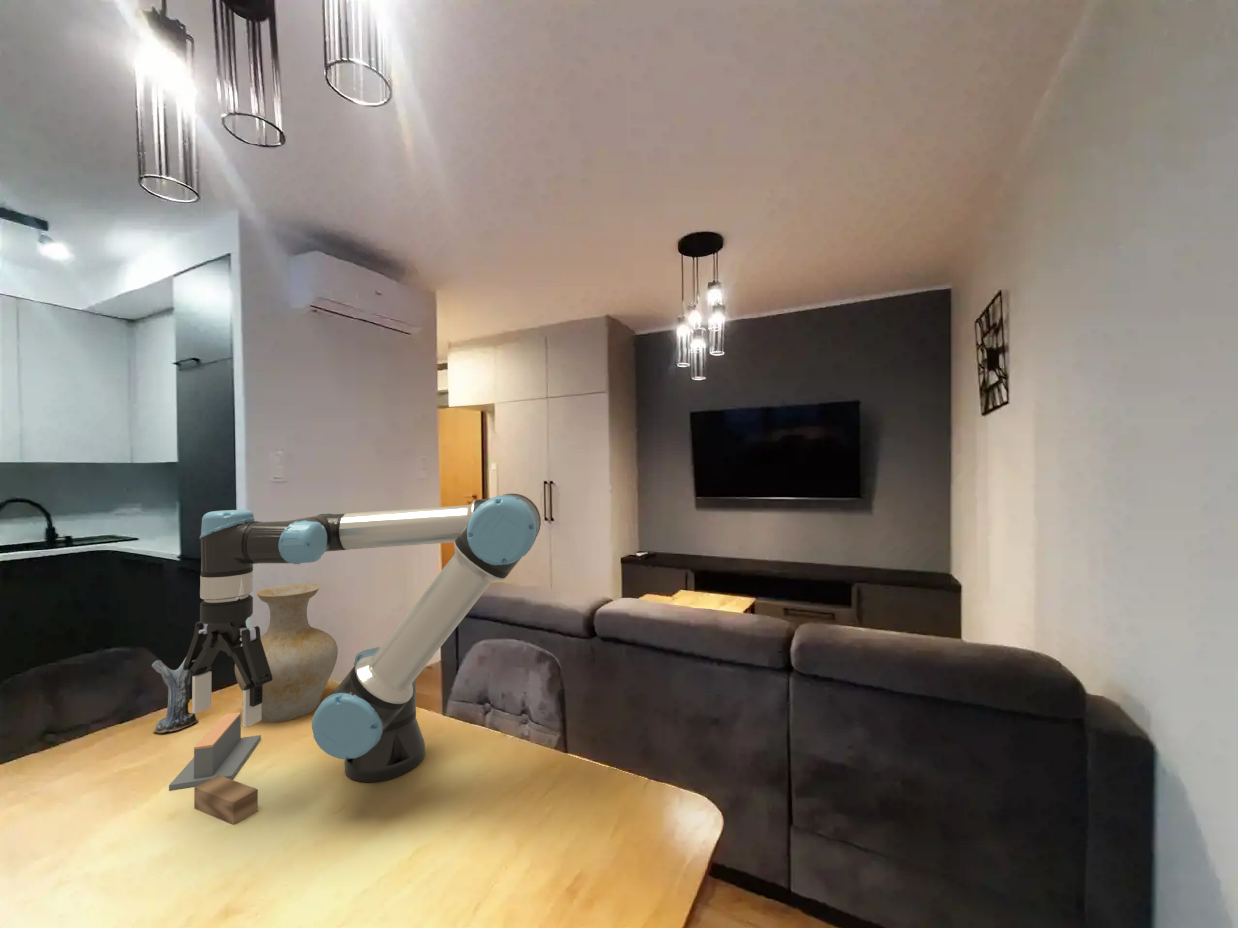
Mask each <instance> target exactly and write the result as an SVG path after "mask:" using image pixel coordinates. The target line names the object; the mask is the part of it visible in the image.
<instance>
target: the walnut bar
mask: <svg viewBox="0 0 1238 928" xmlns="http://www.w3.org/2000/svg"><path fill="white" fill-rule="evenodd" d="M193 788H194V797H193V799H194V804H193V806H194V809H195V810H197V811H199V812H202V813H203V814H207V815H209V816H211V817H213V818H216V819H217V820H220V821H222V822H225V823H228V824H231V825H233V826H234V825H236V824H238V823H240V822H241V821H243V820H244V819H247V818H248V817H249V816H251V815H253V814H255V813H257V812H258V811H259V810H258V809H259V807H258V805H259V792H258V791H259V790H258V788H255V787H253V786H250V785H247V784H245V783H241V782H239V781H236V780H231V779H228V778H226V777H223V776H220V775H218V776H216V777H214V778H212V779H210V780H208V781H206V782H204V783H202V784H200V785H198V786H195V787H193Z"/></svg>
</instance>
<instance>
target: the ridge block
mask: <svg viewBox="0 0 1238 928" xmlns="http://www.w3.org/2000/svg"><path fill="white" fill-rule="evenodd" d="M241 716H242V712H232V713H225V714H224V715H222V717H221V718H219V719H218V720H217V722H216V723H215V724H214V725H213V726H212V727H211V728H210V730H209V731H207V733H206V734H205V735H204V736H203V737H202V738H201V740H199V741H198V742H197V743H196V745H195V746H194V747H193V749H194V750H193V755H194V756H193V757H192V759H191V760H190V761H189V762H188V763H187V764H186V766H185V767H184V768H183V769H182V770H181V771H180V772H179V773H178V775H176V777H174V779H173V780H172V781H170V783H169V784H168V791H174V790H182V789H187V788H194V787H196V786H198V785H200V784H202V783H204V782H206V781H208V780H210V779H212V778H214V777H216V776H218V775H220V776H223V777H226V778H228V779H231V780H233V779H234V778H235V777H236V775H237V774H238V772H240V770H241V768H242V767H243V766H244V764H245V762H246V761H247V760H248V758H249V757H250V755H252V753H253V751H254V750H255V749H256V747H257V745H258V744H259V743H260V741H261V739H262V735H261V734H258V735H252V736H243V737H242V735H241V731H242V728H241V727H242V724H241V723H242V717H241Z"/></svg>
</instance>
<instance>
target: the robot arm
mask: <svg viewBox="0 0 1238 928" xmlns="http://www.w3.org/2000/svg"><path fill="white" fill-rule="evenodd" d="M541 518H542V517H541V513H540V511H539V509H538V507H537V506H536V504H535V503H534V501H532V499H530V498H528V497H527V496H524V495H522V494H520V493H505V494H502V495H497V496H493V497H490V498H482V499H474V500H473V501H471V503H470V504H466V505H465V504H464V505H463V504H462V505H451V506H450V505H449V506H438V507H437V506H436V507H435V506H433V507H421V508H404V509H391V510H389V509H388V510H378V511H377V510H376V511H375V510H374V511H360V512H348V513H347V512H346V513H320V514H317V515H313V516H310V517H302V518H296V519H291V520H285V521H283V520H281V521H258V520H255V517H254V512H253V511H251V510H249V509H246V510H244V509H231V510H230V509H229V510H227V509H226V510H214V511H209V512H208V511H207V512H206V513H204V514H203V516H202V518H201V529H200V536H199V540H200V563H201V564H200V576H199V577H200V578H199V580H200V581H199V582H200V587H199V597H200V599H202V601H201V602H200V603H199V614H200V615H199V621H197V622H194V623H195V624H194V632H193V636H192V639H191V642H190V645H189V648H188V651H187V654H186V656H185V658H186V659H185V658H184V660H185V662H184V665H183V669H184V670H185V671H186V670H189V673H190V675H191V691H192V692H191V693H192V694H191V695H192V697H191V699H192V700H191V701H192V703H191V706H192V707H191V714H193V713H194V714H195V715H196V714H198V713H200V712H203V711H205V710H208V709H210V708H212V673H213V672H212V671H210V670H213V668H212V664H213V662H214V660H216V659H215V658H217V655H218V654H219V653H220V651H221V652H223V653H226V655H227V656H228V657H231V658H232V660H233V661H234V663H235V664H236V666H237V668H238V670H239V672H240V674H241V676H242V678H243V680H244V682H245V684H246V686H245V687H244V688H243V692H242V727H244V728H247V727H249V726H250V727H251V726H252V725H254V724H256V723H258V722H262V721H261V709H262V697H263V684H265V683H267V682H270V681H272V679H273V677H272V674H271V671H270V667H269V664H268V661H267V658H266V655H265V652H264V648H263V645H262V642H261V638H260V636H261V629H260V626H259V625H256V626H252V627H247V620H248V618H251V617H252V616H253V613H254V596H252V595H251V593H252V592H253V589H254V588H253V586H254V585H253V583H254V581H253V580H254V579H253V578H254V575H253V574H254V573H253V571H254V564H255V565H257V564H293V565H300V564H306V563H307V564H309V563H311V564H312V563H315V562H317V561H319V560H320V559H321V558H322V556H323V555H324V554H325V553H326V552H339V551H341V552H342V551H348V550H359V549H375V548H377V549H379V548H390V547H391V548H392V547H405V546H419V545H434V544H450V543H453V546H454V554H453V555H452V557H451V558H450V560H449V561H448V562H447V563H446V564H445V566H443V568H442V569H441V571H440V572H439V573H438V575H436V577H435V578H434V580H433V581H431V583H430V585H429V586H428V587H427V588H426V590H425V591H424V592H423V593H422V594H421V596H420V597H419V598H418V599H417V601H416V602H415V603H414V605H412V607H411V608H410V609H409V611H408V612H407V614H405V616H404V617H403V618H402V619H401V620H400V621H399V623H398V625H396V627H395V628H394V630H393V631H391V633H390V634H389V636H388V637H387V638H386V640H384V642H383V643H382V645H381V646H380V647H379V646H378V647H377V646H376V647H373V648H368V649H365V650H362V651H360V652H358V653H356V655H355V657H354V663H353V667H352V668H351V670H350V671H348V673H347V675H345V677H344V679H342V681H340V683H339V684H338V686H337V687H336V688H335V689H334V691H332V693H331V694H330V695H328V696H327V697H325V698H324V699H323V700H322V701H320V704H319V706H318V707H317V708H316V709H315V711H314V713H313V716H312V721H311V730H312V733H313V734H312V737H313V739H314V741H315V743H316V745H317V746H318V747H319V748H320V749H321V750H322V751H323V752H324V753H325V754H327V755H329V756H331V757H332V758H336V759H340V760H344V773H345V775H346V776H347V777H348V778H350V779H351V780H353V781H356V782H360V783H375V782H376V783H377V782H383V781H387V780H391V779H394V778H397V777H400V776H402V775H405V774H407V773H408V772H410V771H411V770H414V768H416V767H417V766H419V764H420V763H421V762H422V761H423V759H424V758H425V754H426V753H425V752H426V751H425V750H426V749H425V746H426V745H425V740H424V739H425V738H424V737H423V734H422V731H421V728H420V725H419V723H418V719H417V678H418V676H419V675H420V674H421V673H422V671H423V670H424V669H425V667H426V666H427V665H428V663H429V662H430V661H431V660H432V659H433V657H434V656H435V654H437V652H438V651H439V650H440V648H441V647H442V646H443V644H444V643H445V642H446V641H447V640H448V638H449V637H450V636H451V635H452V633H454V631H455V629H456V628H457V627H458V626H459V625H460V623H461V622H462V621H463V619H464V618H465V617H466V616H467V614H468V613H469V612H470V611H471V609H472V608H473V607H474V605H475V604H476V603H477V601H478V600H479V599H480V597H482V595H484V593H485V592H486V590H487V589H488V588H489V586H490V585H491V584H492V583H493V582H497V581H504V580H505V579H506V578H507V577H508V576H509V575H510V573H511V572H512V570H513V569H514V568H515V566H516V565H517V564H518V563H519V562H520V560H521V559H522V558H523V557H525V556H526V555H527V554H528V553H529V552H530V551H531V550H532V549H531V548H532V547H533V546H534V544H535V543H536V540H537V537H538V536H539V533H540V530H541V525H542V522H541V521H542V519H541ZM193 660H196V661H193ZM192 661H193V662H192ZM235 664H234V665H235ZM252 679H253V680H252Z"/></svg>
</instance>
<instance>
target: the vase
mask: <svg viewBox="0 0 1238 928" xmlns="http://www.w3.org/2000/svg"><path fill="white" fill-rule="evenodd" d="M320 588H321V585H320V584H319V585H318V584H314V583H293V584H284V585H283V584H282V585H275V586H271V587H267V588H263V589H260V590H258V591H256V596H257V597H258V598H259V600H260V601H261V602H264V603H265V604H267V606H268V608H269V617H270V618H269V625H268V628H267V631H265V633H264V634H262V635H260V638H261V642H262V645H263V648H264V652H265V655H266V658H267V661H268V664H269V667H270V671H271V674H272V677H273V679H272V681H270V682H267V683H265V684H263V697H262V709H261V721H260V722H263V723H276V722H283V721H289V720H292V719H293V720H294V719H297V718H299V717H303V716H305V715H308V714H310V713H311V712H313V711H315V710H317V708H318V707H319V705H320V703H321V699H322V694H323V692H324V691H325V688H326V685H327V684H328V682H329V680H330V678H331V675H332V673H333V671H334V668H335V666H336V663H337V659H338V654H339V649H338V648H339V647H338V645H337V641H336V639H335V638H334V637H333V636H332V635H331V634H330V633H327V632H326V631H324V630H322V629H320V628H316V627H314V626H311V625H310V623H309V620H308V604H309V602H310V599H311V598H313V597H314V596H315V595H316V594H317V592H318V591H319V589H320ZM234 674H235V678H236V681H237V682H236V683H237V684H238V686H239V688H240V690H241V692H242V693H243V688H244V687H245V686H246V684H245V682H244V680H243V678H242V676H241V674H240V672H239V670H238V668H237V666H236V664H234ZM252 680H253V679H252Z"/></svg>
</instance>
